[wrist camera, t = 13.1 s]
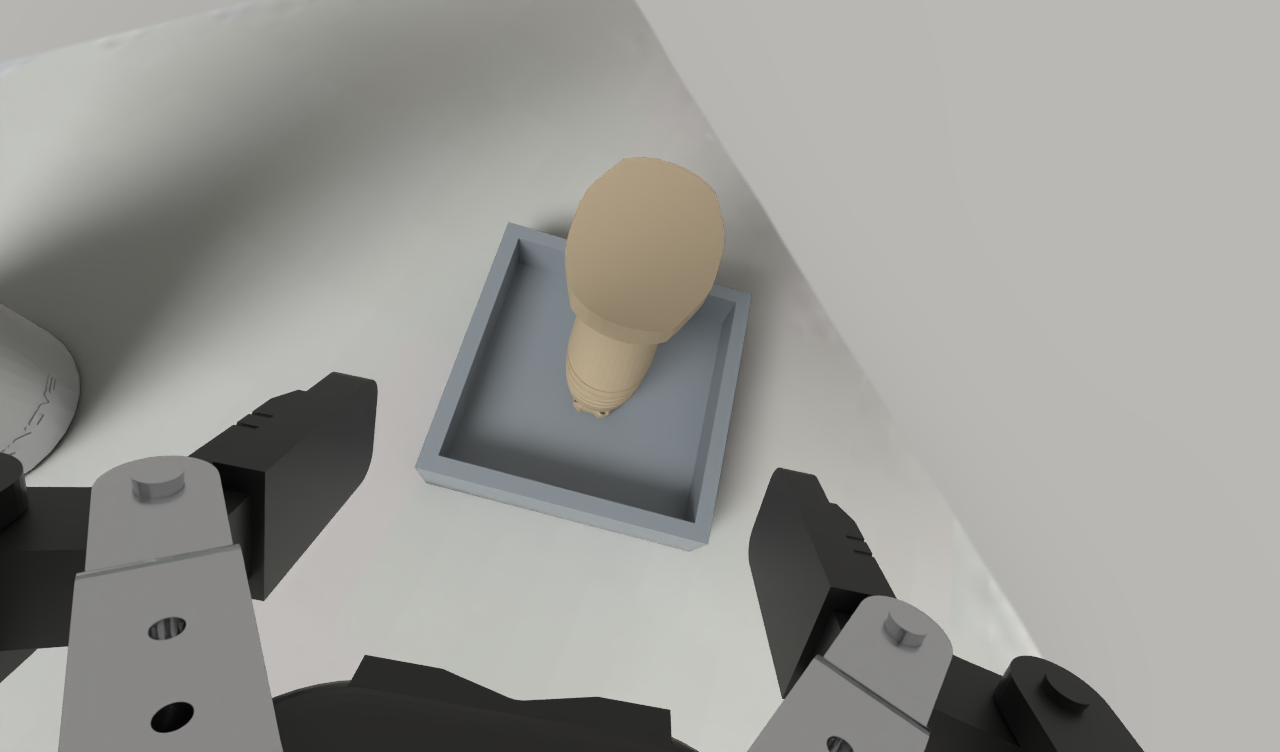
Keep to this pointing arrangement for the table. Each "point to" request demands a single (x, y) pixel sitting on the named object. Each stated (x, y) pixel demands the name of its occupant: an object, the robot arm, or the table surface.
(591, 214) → the beige club-shaped piece
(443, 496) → the table surface
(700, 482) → the tray
